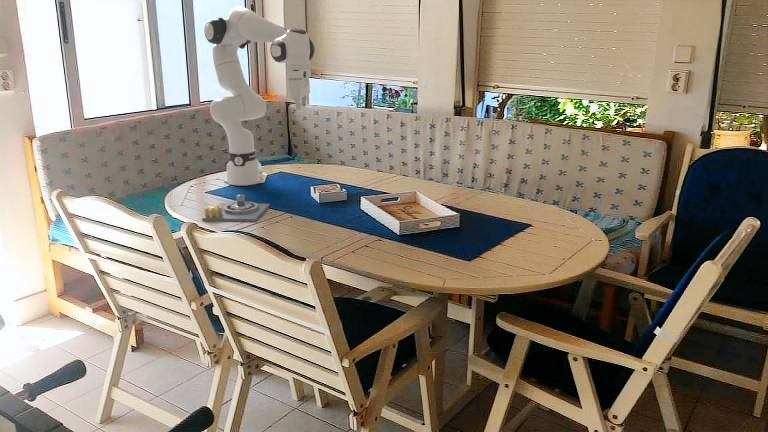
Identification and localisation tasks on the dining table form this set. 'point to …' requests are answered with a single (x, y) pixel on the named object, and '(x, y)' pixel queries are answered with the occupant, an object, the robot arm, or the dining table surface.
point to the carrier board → (234, 212)
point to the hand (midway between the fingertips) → (301, 108)
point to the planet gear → (240, 203)
